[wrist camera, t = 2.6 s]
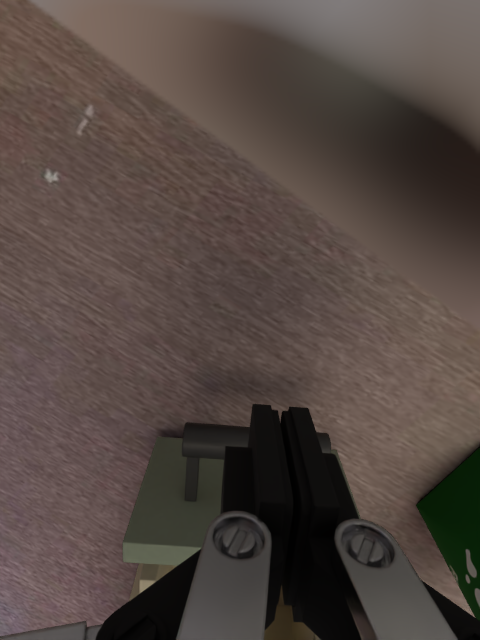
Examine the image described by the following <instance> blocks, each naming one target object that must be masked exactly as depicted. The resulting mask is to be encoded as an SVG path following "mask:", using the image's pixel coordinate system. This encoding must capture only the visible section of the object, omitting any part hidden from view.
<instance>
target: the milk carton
mask: <svg viewBox="0 0 480 640" xmlns="http://www.w3.org/2000/svg"><path fill="white" fill-rule="evenodd" d="M416 506H417V508H418V510H419V512H420V514H421V516H422V517H423V519H424V521H425V523H426V525H427V527H428V529H429V531H430V533H431V535H432V536H433V538H434V540H435V542H436V544H437V546H438V548H439V550H440V552H441V554H442V555H443V557H444V559H445V561H446V563H447V565H448V567H449V569H450V571H451V573H452V575H453V576H454V578H455V580H456V582H457V584H458V586H459V588H460V589H461V591H462V593H463V595H464V597H465V599H466V601H467V603H468V604H469V606H470V608H471V610H472V612H473V614H474V616H475V617H476V619H477V620H479V621H480V448H479V449H477V450H476V451H475V452H474V453H473V454H472V455H471V456H470V457H469V458H468V459H466V460H465V461H464V462H463V463H462V464H461V465H460V466H459V467H458V468H457V469H455V470H454V471H453V472H452V473H451V474H450V475H449V476H448V477H447V478H446V479H444V480H443V481H442V482H441V483H440V484H439V485H438V486H437V487H436V488H435V489H433V490H432V491H431V492H430V493H429V494H428V495H427V496H426V497H425V498H424V499H422V500H421V501H420V502H419V503H418V504H417V505H416Z"/></svg>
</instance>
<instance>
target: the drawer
mask: <svg viewBox="0 0 480 640" xmlns="http://www.w3.org/2000/svg"><path fill="white" fill-rule="evenodd" d="M249 432H250V427H240V426H227V425H214V424H201V423H188V422H187V423H186V424H185V427H184V433H183V438H171V437H157V439H156V442H155V445H154V448H153V451H152V455H151V458H150V461H149V464H148V467H147V470H146V473H145V476H144V479H143V482H142V485H141V488H140V491H139V494H138V497H137V500H136V503H135V506H134V509H133V512H132V515H131V518H130V522H129V525H128V528H127V531H126V534H125V537H124V540H123V562H129V563H144V564H143V567H142V571H141V575H140V579H139V594H140V593H141V592H142V591H144V590H145V589H147V588H148V587H149V586H151V585H152V584H153V583H155V582H156V581H158V580H159V579H160V578H162V577H163V576H164V575H166V574H167V573H168V572H170V571H171V570H173V569H174V568H175V567H177V566H178V565H179V564H181V563H182V562H183V561H185V560H186V559H188V558H189V557H190V556H192V555H193V554H194V553H196V552H197V551H199V550H200V549H201V548H202V545H203V541H204V538H205V534H206V530H207V528H208V526H209V524H210V522H211V521H212V520H213V519H214V518H215V517H216V516H218V515H220V510H221V493H222V479H223V467H224V455H225V446H235V447H248V441H249ZM316 434H317V437H318V440H319V443H320V446H321V449H322V452H323V453H332V454H335V455H336V457H337V459H338V462H339V464H340V467H341V470H342V473H343V475H344V478H345V481H346V483H347V486H348V489H349V492H350V494H351V497H352V500H353V502H354V505H355V508H356V511H357V513H358V516H359V519H361V518H360V515H359V512H358V509H357V506H356V504H355V501H354V498H353V495H352V492H351V490H350V487H349V484H348V481H347V478H346V475H345V473H344V470H343V467H342V464H341V461H340V459H339V456H338V453H337V450H331V443H330V438H329V435H328V434H327V433H319V432H316ZM313 637H314V633H313V632H312V631H311V630H310V629H309V628H308V627H307V626H306V625H305V624H304V623H302V622H294V621H293V614H292V606H291V605H285V604H284V601H283V592H282V585H281V591H280V598H279V603H278V605H277V608H276V614H275V620H274V621H273V622H272V624H271V625H270V626H269V627H268V628H267V629H266V630H265V632H264V640H313Z"/></svg>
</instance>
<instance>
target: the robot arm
mask: <svg viewBox="0 0 480 640" xmlns="http://www.w3.org/2000/svg"><path fill="white" fill-rule="evenodd" d="M281 585H282V592H283V601H284V604H285V605H291V606H292V614H293V621H294V622H302V623H304V624H305V625H306V626H307V627H308V628H309V629H310V630H311V631H312V632H313V633H314V637H313V640H480V621H479V620H477V619H476V618H474V617H473V616H472V615H470V614H469V613H467V612H466V611H464V610H463V609H462V608H460V607H459V606H457V605H456V604H454V603H453V602H452V601H450V600H449V599H447V598H446V597H445V596H443V595H442V594H440V593H439V592H437V591H436V590H435V589H433V588H432V587H430V586H429V585H427V584H426V583H425V582H423V581H422V580H421V579H420V578H419V576H418V575H417V573H416V571H415V570H414V568H413V567H412V565H411V563H410V562H409V560H408V559H407V557H406V555H405V554H404V552H403V550H402V549H401V547H400V546H399V544H398V542H397V541H396V540H395V539H394V537H393V536H392V535H391V534H390V533H389V532H388V531H386V530H385V529H384V528H383V527H381V526H379V525H377V524H375V523H373V522H370V521H367V520H364V519H359V516H358V513H357V511H356V508H355V505H354V502H353V500H352V497H351V494H350V492H349V489H348V486H347V483H346V481H345V478H344V475H343V473H342V470H341V467H340V464H339V462H338V459H337V457H336V455H335V454H332V453H323V452H322V449H321V446H320V443H319V440H318V437H317V434H316V431H315V427H314V424H313V421H312V418H311V415H310V412H309V409H308V408H301V407H289V410H288V411H283V412H282V415H281V423H280V420H279V415H278V411H277V410H272V408H271V405H261V404H253V406H252V414H251V423H250V432H249V441H248V447H235V446H225V455H224V467H223V479H222V493H221V510H220V515H218V516H216V517H215V518H214V519H213V520H212V521H211V522H210V524H209V526H208V528H207V530H206V534H205V538H204V541H203V545H202V548H201V549H200V550H199V551H197V552H196V553H194V554H193V555H192V556H190V557H189V558H188V559H186V560H185V561H183V562H182V563H181V564H179V565H178V566H177V567H175V568H174V569H173V570H171V571H170V572H168V573H167V574H166V575H164V576H163V577H162V578H160V579H159V580H158V581H156V582H155V583H153V584H152V585H151V586H149V587H148V588H147V589H145V590H144V591H142V592H141V593H140V594H138V595H137V596H136V597H134V598H133V599H132V600H130V601H129V602H127V603H126V604H125V605H123V606H122V607H121V608H119V609H118V610H117V611H115V612H114V613H113V614H112V615H111V616H110V617H109V618H108V619H107V620H106V621H105V622H104V623H103V624H101V625H95V626H90V627H87V623H86V621H83V622H77V623H72V624H66V625H61V626H55V627H50V628H44V629H39V630H33V631H28V632H22V633H17V634H11V635H6V636H0V640H264V632H265V630H266V629H267V628H268V627H269V626H270V625H271V624H272V622H273V621H274V620H275V614H276V608H277V605H278V603H279V598H280V591H281Z"/></svg>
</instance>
